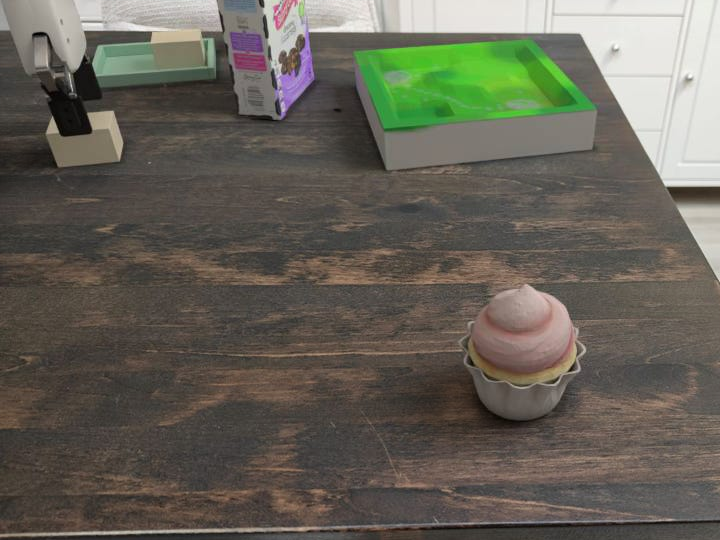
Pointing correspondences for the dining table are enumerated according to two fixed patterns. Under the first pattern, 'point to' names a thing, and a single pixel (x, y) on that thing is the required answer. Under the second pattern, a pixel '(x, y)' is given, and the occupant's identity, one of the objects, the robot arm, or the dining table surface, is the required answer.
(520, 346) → the cupcake
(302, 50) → the candy box
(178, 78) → the frame
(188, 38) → the seated pad
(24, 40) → the robot arm
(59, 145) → the loose pad
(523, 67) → the tray
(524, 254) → the dining table surface
